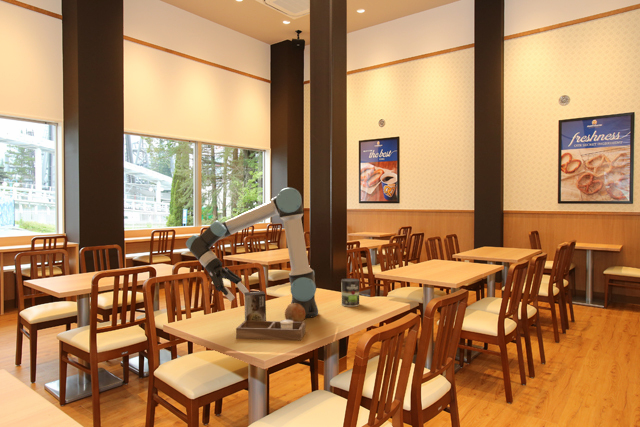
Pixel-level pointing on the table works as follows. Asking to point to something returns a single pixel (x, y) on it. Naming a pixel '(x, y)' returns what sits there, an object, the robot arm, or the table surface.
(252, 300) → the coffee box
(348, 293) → the coffee can
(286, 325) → the cream jug
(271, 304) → the table surface
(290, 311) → the onion
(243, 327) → the caddy
